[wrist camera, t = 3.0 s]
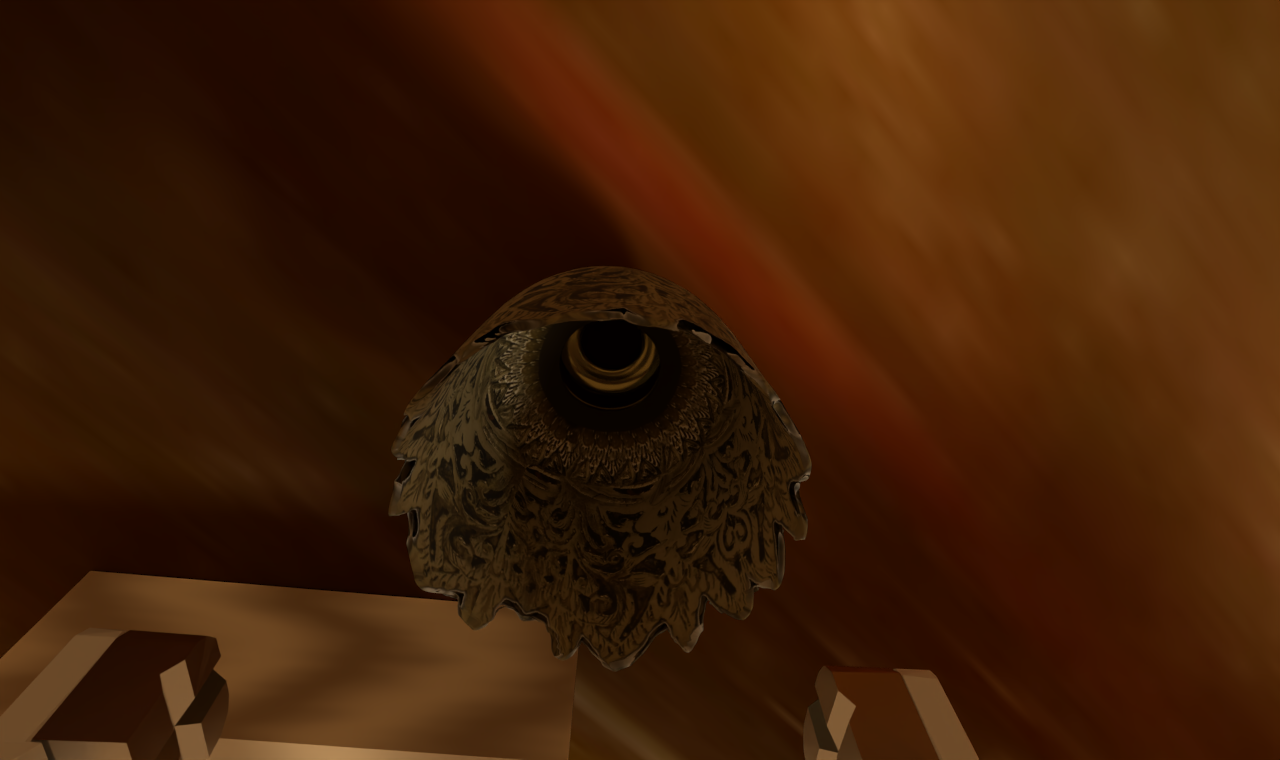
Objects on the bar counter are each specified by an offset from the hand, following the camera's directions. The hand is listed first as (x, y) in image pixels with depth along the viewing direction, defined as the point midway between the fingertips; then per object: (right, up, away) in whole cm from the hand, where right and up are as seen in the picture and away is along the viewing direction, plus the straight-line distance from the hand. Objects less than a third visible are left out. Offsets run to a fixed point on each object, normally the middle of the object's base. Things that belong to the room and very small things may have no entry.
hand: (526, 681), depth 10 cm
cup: (+1, +5, +10) cm, 11 cm away
